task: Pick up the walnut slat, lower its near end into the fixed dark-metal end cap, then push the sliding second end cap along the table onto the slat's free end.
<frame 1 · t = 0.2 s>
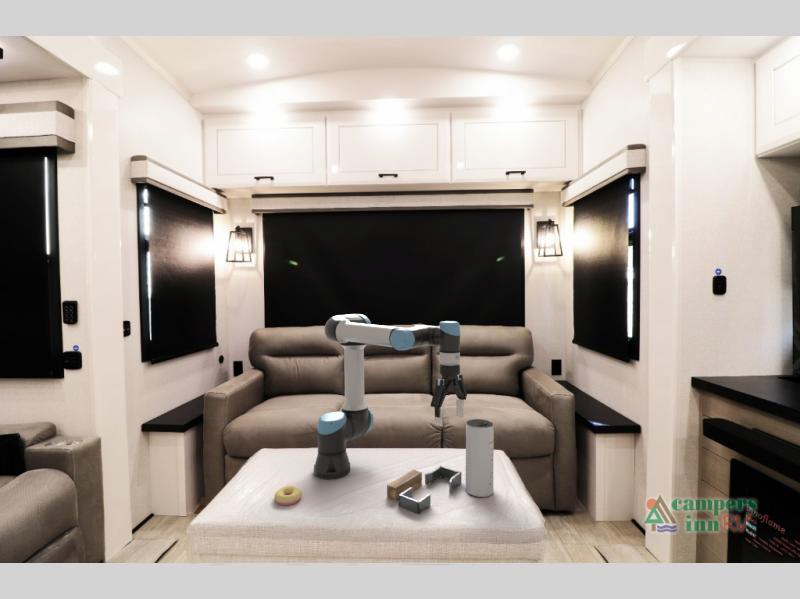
hand: (449, 421, 150), 27 cm above the ottoman, fingers open, 13 cm apart
slat: (405, 491, 153), on the ottoman
donut: (288, 500, 147), on the ottoman
cap a: (414, 505, 142), on the ottoman
cap b: (444, 478, 158), point 2 cm above the ottoman, slide at 0.0 cm
speaker: (479, 491, 153), on the ottoman
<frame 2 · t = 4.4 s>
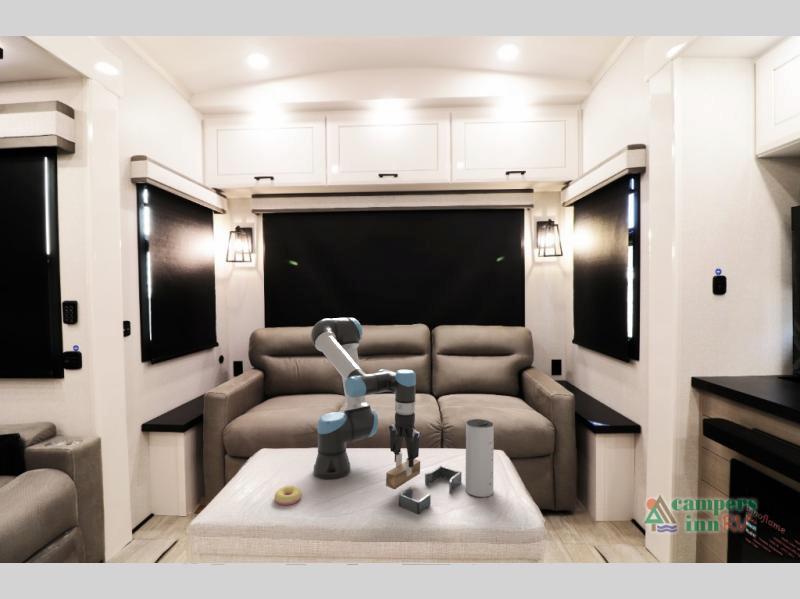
hand: (403, 472, 153), 7 cm above the ottoman, fingers closed on slat, 4 cm apart
slat: (403, 479, 154), point 4 cm above the ottoman, touching gripper
everything else where it was.
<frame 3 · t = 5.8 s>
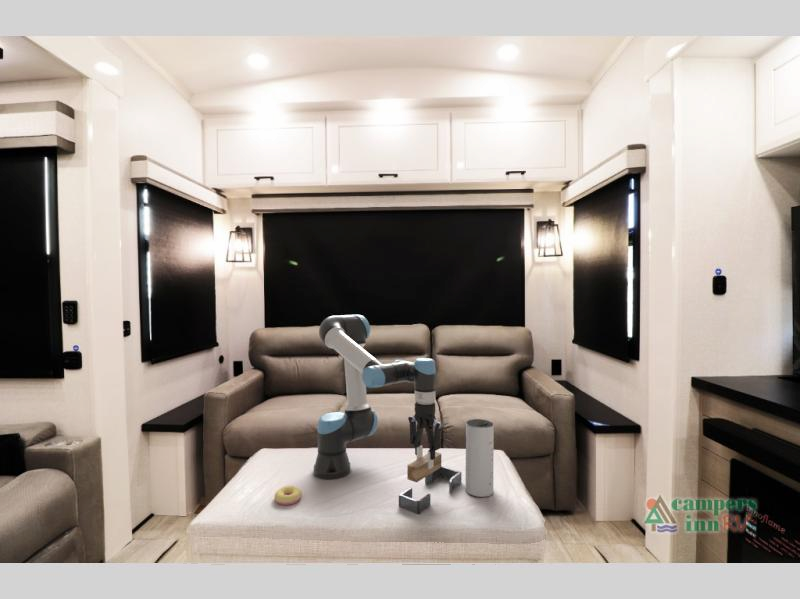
hand: (425, 465, 147), 12 cm above the ottoman, fingers closed on slat, 4 cm apart
slat: (424, 472, 147), point 9 cm above the ottoman, touching gripper
everything else where it was.
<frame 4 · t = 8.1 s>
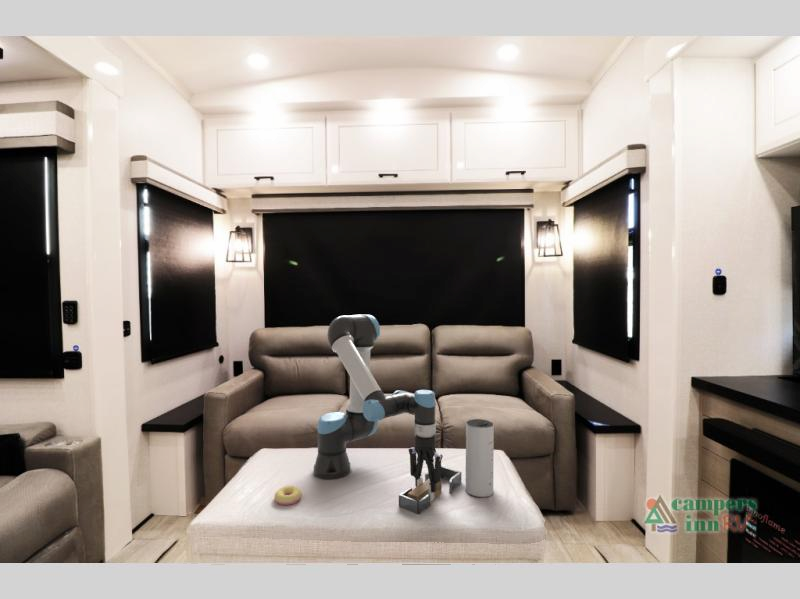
hand: (425, 498, 147), 0 cm above the ottoman, fingers closed on slat, 4 cm apart
slat: (425, 499, 147), on the ottoman, touching gripper
everything else where it was.
when the fingers open (0 cm above the ottoman, at t = 8.1 s): slat stays where it is, on the ottoman.
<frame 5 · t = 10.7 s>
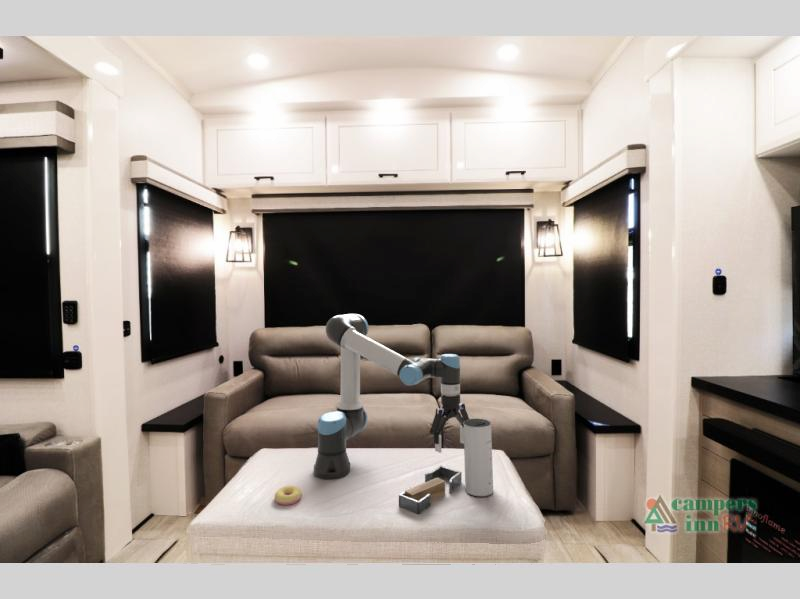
hand: (451, 447, 161), 13 cm above the ottoman, fingers open, 13 cm apart
slat: (425, 499, 147), on the ottoman
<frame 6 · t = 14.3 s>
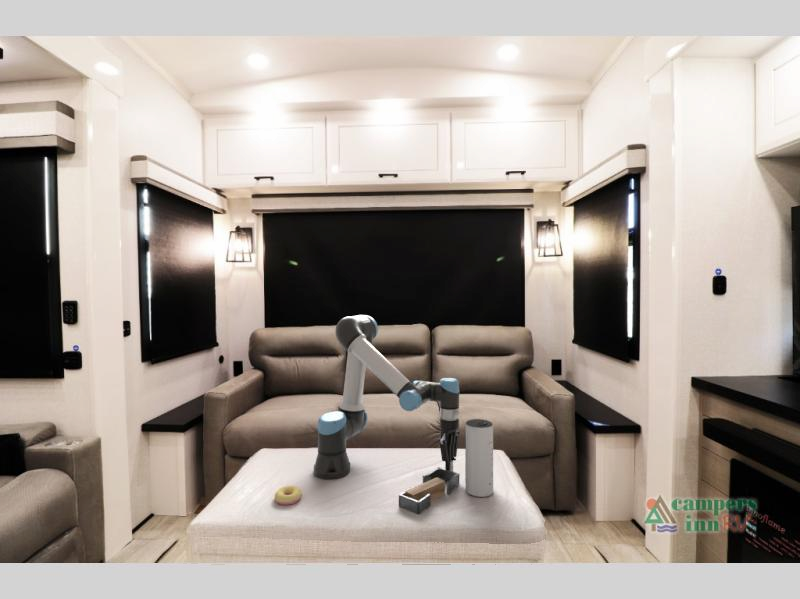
hand: (449, 476, 162), 1 cm above the ottoman, fingers closed
cap b: (442, 480, 157), point 2 cm above the ottoman, slide at 1.7 cm, touching gripper
everything else where it was.
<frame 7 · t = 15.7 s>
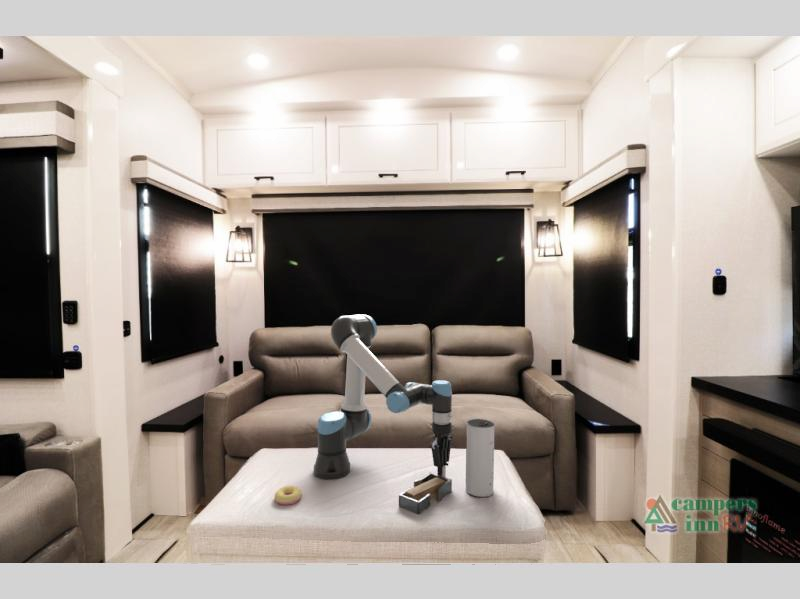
hand: (441, 482, 157), 1 cm above the ottoman, fingers closed
cap b: (433, 485, 152), point 2 cm above the ottoman, slide at 7.6 cm, touching gripper
everything else where it was.
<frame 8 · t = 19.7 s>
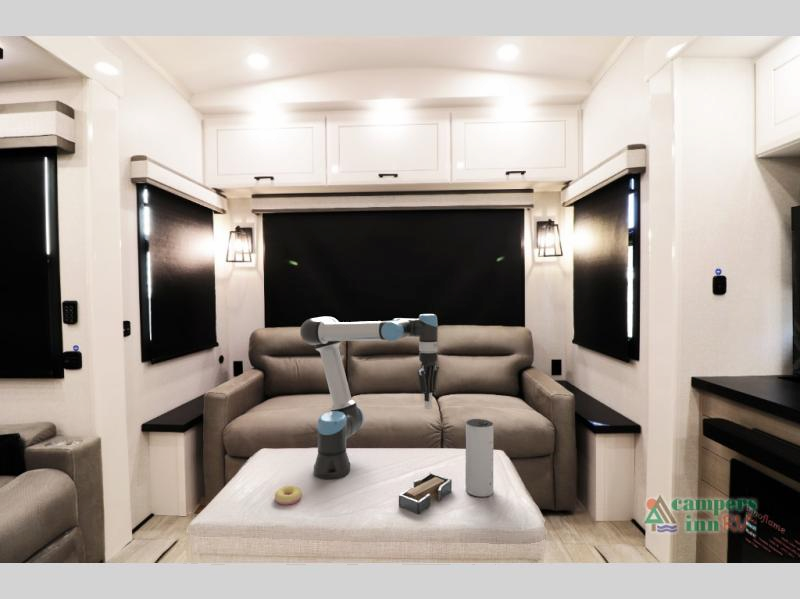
hand: (428, 408, 169), 26 cm above the ottoman, fingers closed
cap b: (433, 486, 152), point 2 cm above the ottoman, slide at 7.7 cm
everything else where it was.
at the end: slat 0.4 cm from the target spot, on the ottoman; cap b slide at 7.7 cm; slat tilted 0° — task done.
